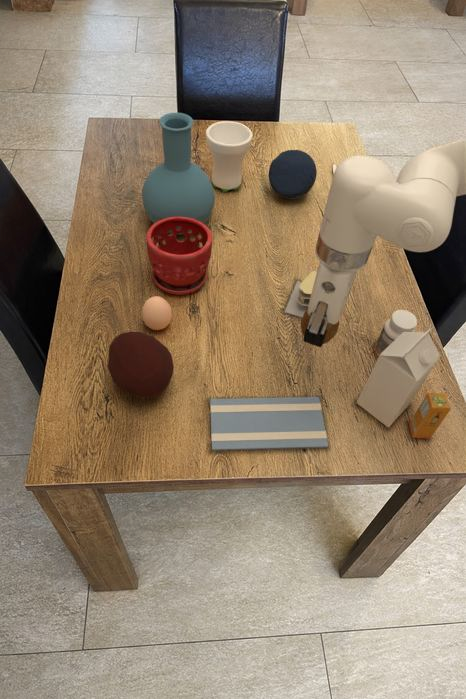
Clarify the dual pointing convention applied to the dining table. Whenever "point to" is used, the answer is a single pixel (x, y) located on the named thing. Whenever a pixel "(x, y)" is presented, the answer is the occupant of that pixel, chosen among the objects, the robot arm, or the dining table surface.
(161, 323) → the egg
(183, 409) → the dining table surface
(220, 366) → the dining table surface
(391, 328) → the pill bottle
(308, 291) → the stacked layers on plate
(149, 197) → the vase
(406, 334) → the milk carton
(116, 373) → the potato
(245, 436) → the towel
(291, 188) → the decorative stone
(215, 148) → the cup
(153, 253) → the flower pot
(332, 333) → the fruit
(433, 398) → the supplement box
